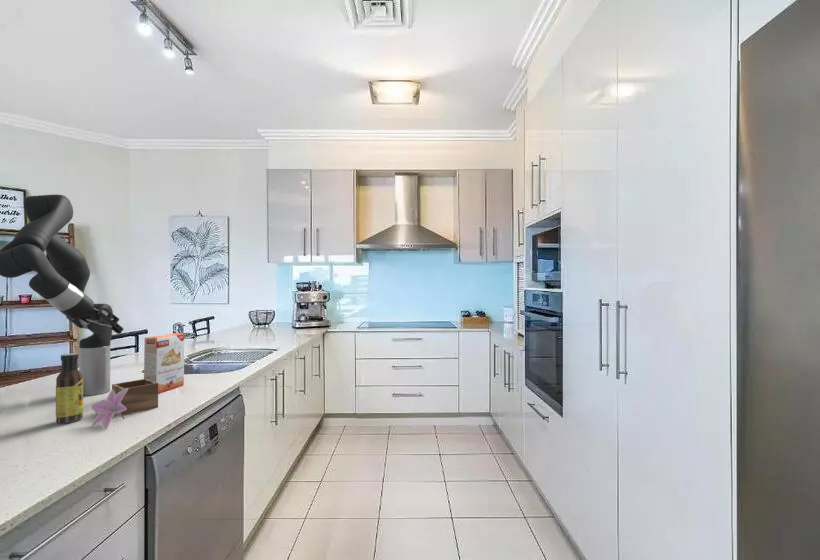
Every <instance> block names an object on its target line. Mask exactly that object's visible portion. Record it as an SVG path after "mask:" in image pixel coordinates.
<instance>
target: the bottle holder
mask: <svg viewBox="0 0 820 560" xmlns="http://www.w3.org/2000/svg"><path fill="white" fill-rule="evenodd" d="M126 388H129V389H128V391H127V392H126V394H125V395H124V397H123V399H122V400H121V402H120V403H121V404H123V405H124V406H125V407H126V408H127V410H125V411H123V412H120V413H121V414H122V415H123V416H126V415H129V414H133V413H140V412H143V411H147V410H152V409H157V408H159V393H158V383H157V382H154V381H151V380H149V379H144V378H141V379H137V380H131V381H124V382H117V383H114V384H113V383H112V384H111V390H112V389H113V390H114V392H115V394H117V393H118V392H120V391H122V390H124V389H126ZM120 413H119V414H120ZM121 414H120V415H121Z"/></svg>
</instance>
